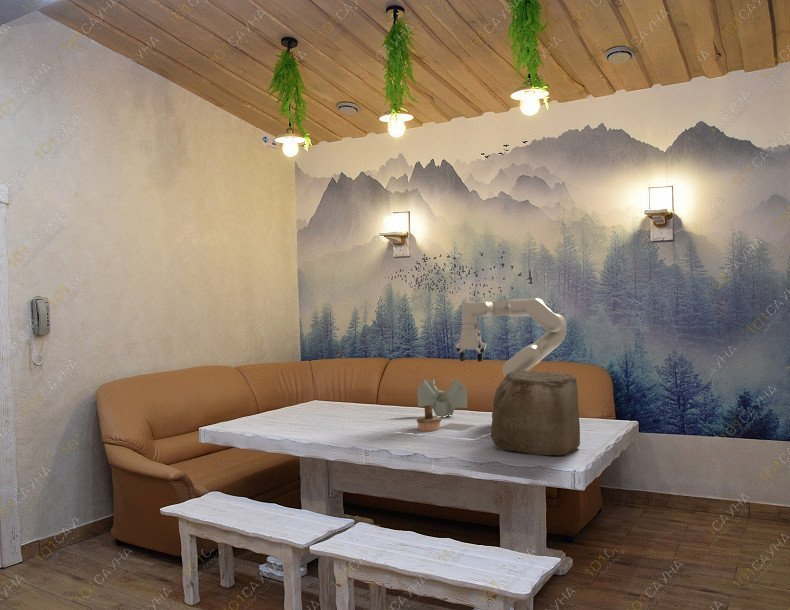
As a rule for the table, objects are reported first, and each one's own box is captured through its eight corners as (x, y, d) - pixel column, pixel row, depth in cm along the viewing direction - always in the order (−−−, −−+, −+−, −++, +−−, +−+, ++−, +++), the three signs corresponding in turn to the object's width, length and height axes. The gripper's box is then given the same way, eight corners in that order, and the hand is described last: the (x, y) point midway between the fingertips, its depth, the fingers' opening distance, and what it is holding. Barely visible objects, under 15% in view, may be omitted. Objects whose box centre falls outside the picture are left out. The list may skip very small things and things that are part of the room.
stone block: (478, 450, 256) (476, 375, 255) (507, 437, 275) (505, 368, 274) (560, 462, 234) (558, 381, 234) (585, 447, 254) (583, 372, 253)
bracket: (469, 416, 335) (468, 378, 335) (465, 418, 329) (464, 379, 329) (420, 414, 346) (419, 377, 346) (416, 416, 340) (414, 379, 340)
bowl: (443, 429, 301) (443, 419, 301) (432, 433, 293) (432, 423, 293) (425, 427, 307) (425, 418, 307) (414, 431, 299) (413, 421, 299)
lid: (445, 419, 301) (445, 404, 302) (433, 423, 292) (432, 408, 292) (424, 418, 308) (424, 403, 308) (411, 422, 298) (411, 406, 299)
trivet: (476, 427, 305) (476, 425, 305) (462, 432, 293) (461, 430, 293) (450, 424, 313) (450, 423, 313) (436, 429, 301) (435, 428, 301)
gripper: (488, 326, 318) (490, 360, 317) (458, 327, 328) (459, 360, 327) (482, 327, 311) (483, 362, 311) (451, 327, 321) (452, 361, 321)
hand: (471, 361), depth 319 cm, fingers open, 9 cm apart
